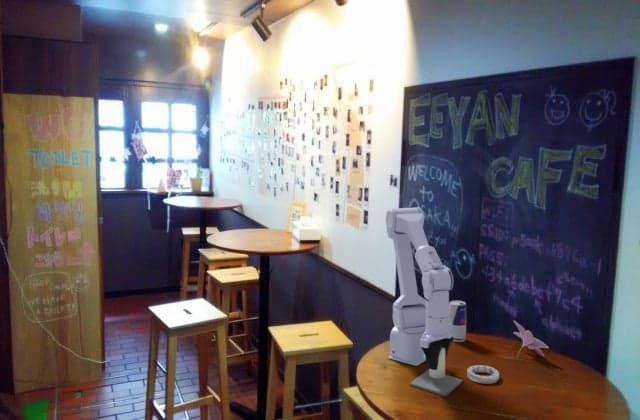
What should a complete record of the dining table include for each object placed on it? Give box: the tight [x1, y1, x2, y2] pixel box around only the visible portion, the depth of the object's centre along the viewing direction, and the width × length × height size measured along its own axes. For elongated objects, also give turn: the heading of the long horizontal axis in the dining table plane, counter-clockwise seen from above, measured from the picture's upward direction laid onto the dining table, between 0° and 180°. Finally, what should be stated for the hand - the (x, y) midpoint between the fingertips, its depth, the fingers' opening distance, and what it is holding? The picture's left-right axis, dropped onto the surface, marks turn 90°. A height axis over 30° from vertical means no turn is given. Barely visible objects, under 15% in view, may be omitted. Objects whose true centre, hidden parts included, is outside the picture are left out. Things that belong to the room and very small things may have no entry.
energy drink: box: [448, 299, 467, 343], centre depth 166 cm, size 5×5×12 cm
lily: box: [512, 320, 550, 359], centre depth 152 cm, size 12×12×10 cm
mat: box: [409, 369, 464, 397], centre depth 136 cm, size 10×10×1 cm
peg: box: [428, 347, 446, 378], centre depth 135 cm, size 4×4×7 cm
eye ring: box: [466, 364, 500, 385], centre depth 139 cm, size 8×8×2 cm
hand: (436, 365), depth 135 cm, fingers closed on peg, 4 cm apart
